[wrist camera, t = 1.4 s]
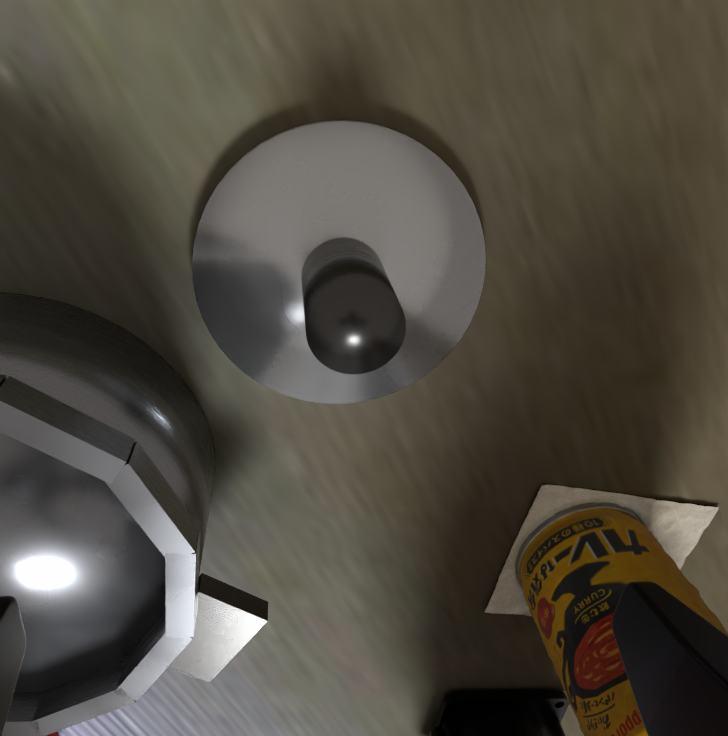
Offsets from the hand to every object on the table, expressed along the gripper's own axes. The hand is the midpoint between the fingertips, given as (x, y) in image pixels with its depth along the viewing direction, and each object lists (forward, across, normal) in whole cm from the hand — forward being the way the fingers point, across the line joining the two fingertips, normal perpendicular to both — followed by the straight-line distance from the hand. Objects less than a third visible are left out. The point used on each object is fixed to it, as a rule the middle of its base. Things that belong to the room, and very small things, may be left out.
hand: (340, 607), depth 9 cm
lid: (+13, -1, -1) cm, 13 cm away
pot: (+12, +9, +7) cm, 17 cm away
